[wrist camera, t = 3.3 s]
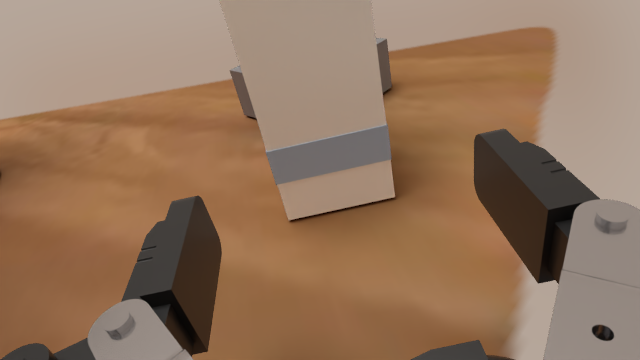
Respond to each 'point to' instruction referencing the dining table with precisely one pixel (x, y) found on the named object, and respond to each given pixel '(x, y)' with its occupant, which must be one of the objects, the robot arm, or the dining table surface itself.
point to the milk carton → (315, 99)
